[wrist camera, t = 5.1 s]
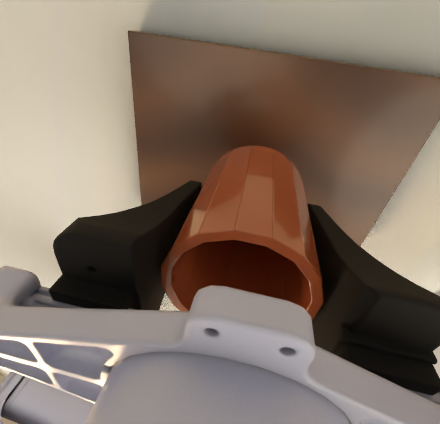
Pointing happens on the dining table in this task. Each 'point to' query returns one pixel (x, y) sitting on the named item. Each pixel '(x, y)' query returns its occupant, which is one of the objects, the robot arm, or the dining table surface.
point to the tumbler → (247, 234)
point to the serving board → (279, 120)
